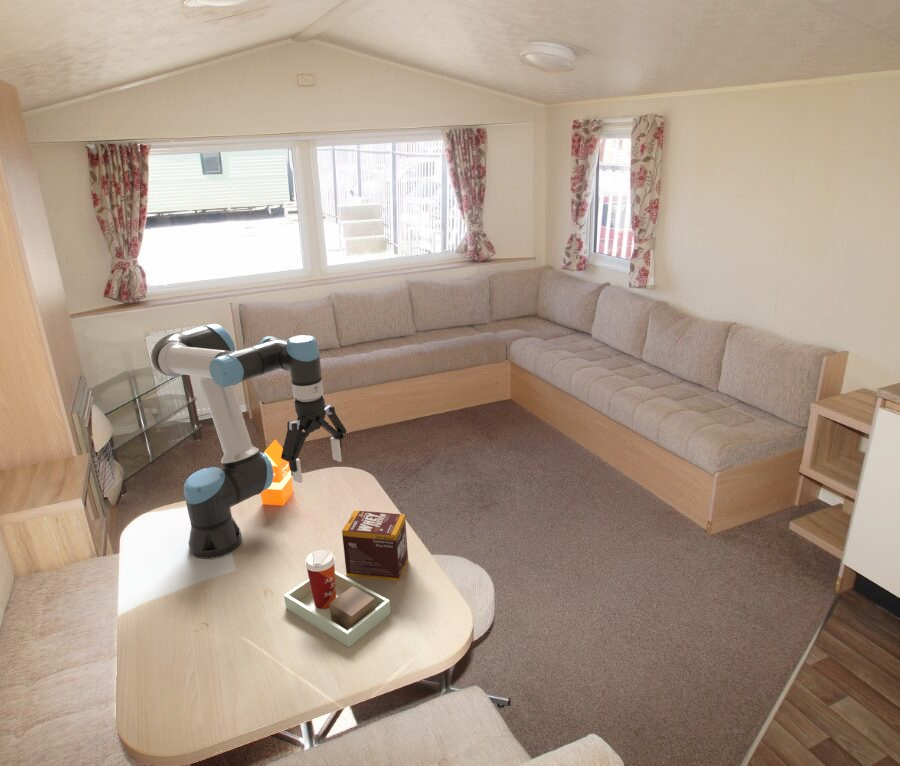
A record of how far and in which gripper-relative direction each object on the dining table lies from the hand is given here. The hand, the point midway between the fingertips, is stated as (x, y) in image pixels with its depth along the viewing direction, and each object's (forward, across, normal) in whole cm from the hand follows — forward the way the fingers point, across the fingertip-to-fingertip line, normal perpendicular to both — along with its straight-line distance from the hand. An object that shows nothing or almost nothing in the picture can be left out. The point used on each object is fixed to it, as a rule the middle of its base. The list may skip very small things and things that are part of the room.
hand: (318, 470), depth 176 cm
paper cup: (+31, -11, -10) cm, 35 cm away
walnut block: (+31, -11, -21) cm, 39 cm away
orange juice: (+32, +16, +44) cm, 57 cm away
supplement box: (+32, +8, -11) cm, 35 cm away
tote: (+32, -11, -15) cm, 37 cm away
